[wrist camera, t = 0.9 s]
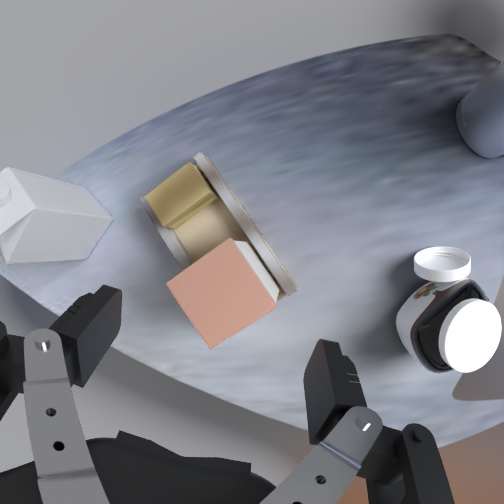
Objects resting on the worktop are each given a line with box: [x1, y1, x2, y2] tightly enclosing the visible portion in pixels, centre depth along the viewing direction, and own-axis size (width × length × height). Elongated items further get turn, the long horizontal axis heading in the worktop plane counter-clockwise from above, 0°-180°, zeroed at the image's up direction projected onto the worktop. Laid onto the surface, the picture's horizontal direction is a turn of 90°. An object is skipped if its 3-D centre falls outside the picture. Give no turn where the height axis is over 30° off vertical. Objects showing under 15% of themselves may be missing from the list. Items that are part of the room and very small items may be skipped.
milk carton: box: [0, 167, 114, 264], centre depth 30 cm, size 7×7×19 cm
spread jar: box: [396, 247, 501, 373], centre depth 28 cm, size 12×11×12 cm
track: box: [139, 152, 297, 301], centre depth 34 cm, size 18×9×6 cm, turn 34°
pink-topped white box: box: [166, 238, 280, 349], centre depth 29 cm, size 6×6×11 cm
